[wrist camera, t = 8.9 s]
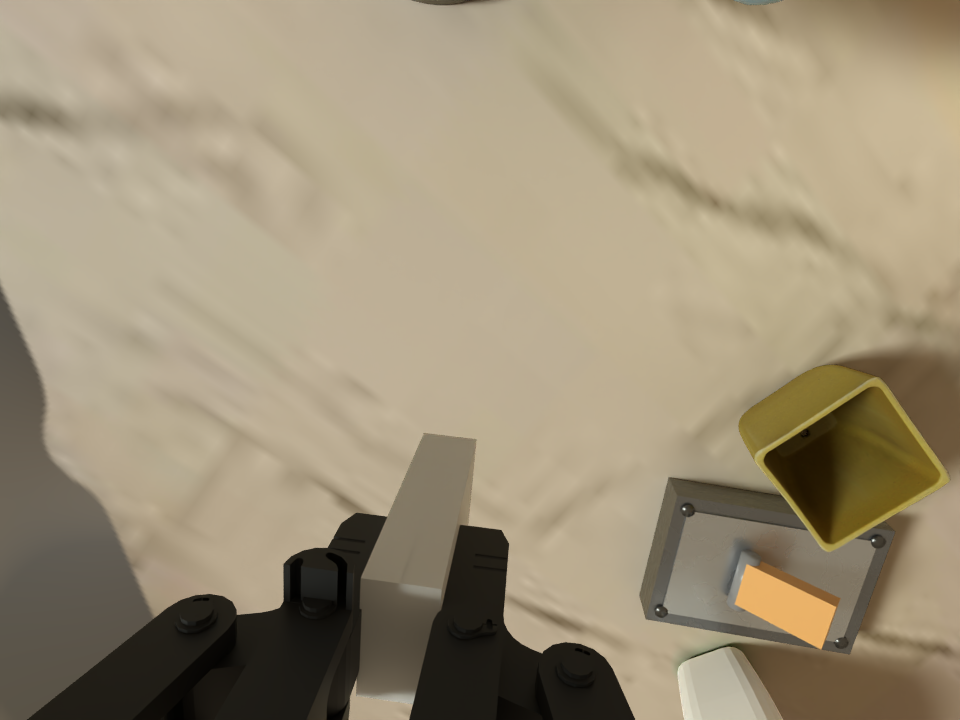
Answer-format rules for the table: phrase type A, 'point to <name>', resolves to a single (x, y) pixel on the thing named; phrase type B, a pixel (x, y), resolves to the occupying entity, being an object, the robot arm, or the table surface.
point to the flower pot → (841, 452)
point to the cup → (723, 688)
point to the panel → (779, 541)
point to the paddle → (782, 599)
